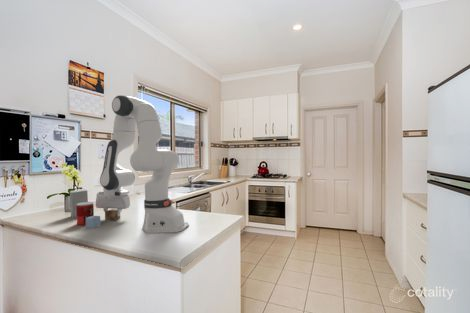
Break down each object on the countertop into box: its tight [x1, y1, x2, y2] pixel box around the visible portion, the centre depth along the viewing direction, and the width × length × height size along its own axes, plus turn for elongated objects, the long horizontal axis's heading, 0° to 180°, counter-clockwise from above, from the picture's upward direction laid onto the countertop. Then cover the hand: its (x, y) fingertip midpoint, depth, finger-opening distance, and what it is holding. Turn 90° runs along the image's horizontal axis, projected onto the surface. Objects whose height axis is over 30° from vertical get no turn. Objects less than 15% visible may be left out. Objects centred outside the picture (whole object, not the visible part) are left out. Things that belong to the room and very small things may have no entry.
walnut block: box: [104, 208, 121, 221], centre depth 131 cm, size 6×6×5 cm
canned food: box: [76, 201, 95, 226], centre depth 123 cm, size 8×8×11 cm
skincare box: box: [69, 188, 89, 219], centre depth 140 cm, size 8×7×16 cm
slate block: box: [85, 215, 101, 229], centre depth 118 cm, size 4×4×5 cm
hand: (112, 215), depth 131 cm, fingers closed on walnut block, 5 cm apart
